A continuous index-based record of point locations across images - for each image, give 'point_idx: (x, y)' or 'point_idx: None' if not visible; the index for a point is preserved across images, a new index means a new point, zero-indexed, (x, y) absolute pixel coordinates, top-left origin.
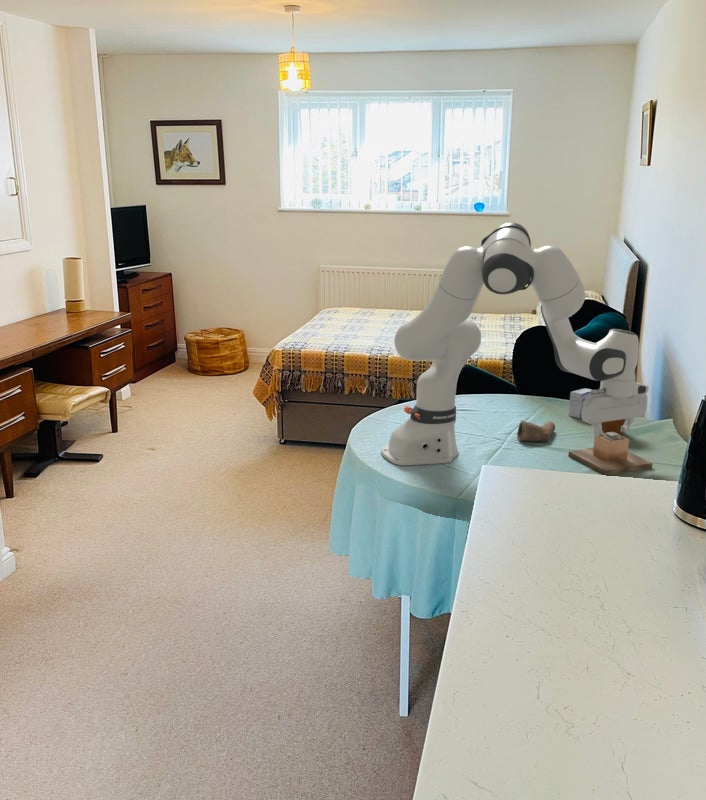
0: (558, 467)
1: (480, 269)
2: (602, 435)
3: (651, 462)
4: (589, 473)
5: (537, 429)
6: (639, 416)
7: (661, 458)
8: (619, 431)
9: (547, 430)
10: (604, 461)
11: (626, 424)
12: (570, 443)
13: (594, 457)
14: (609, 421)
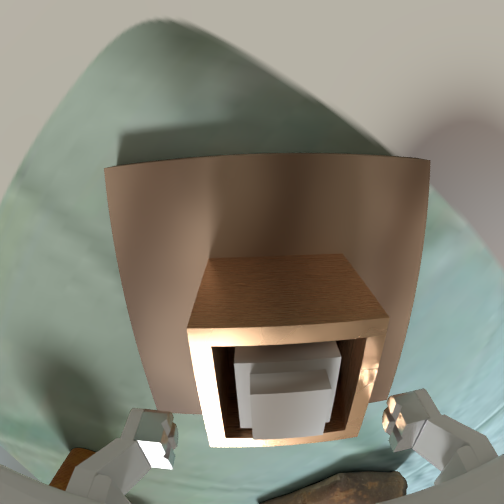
0: (486, 303)
1: None
2: None
3: (106, 175)
4: (452, 213)
5: (370, 500)
6: (18, 476)
7: (24, 257)
8: (81, 455)
9: (329, 501)
10: None
11: (133, 464)
12: (276, 459)
13: None
14: None
